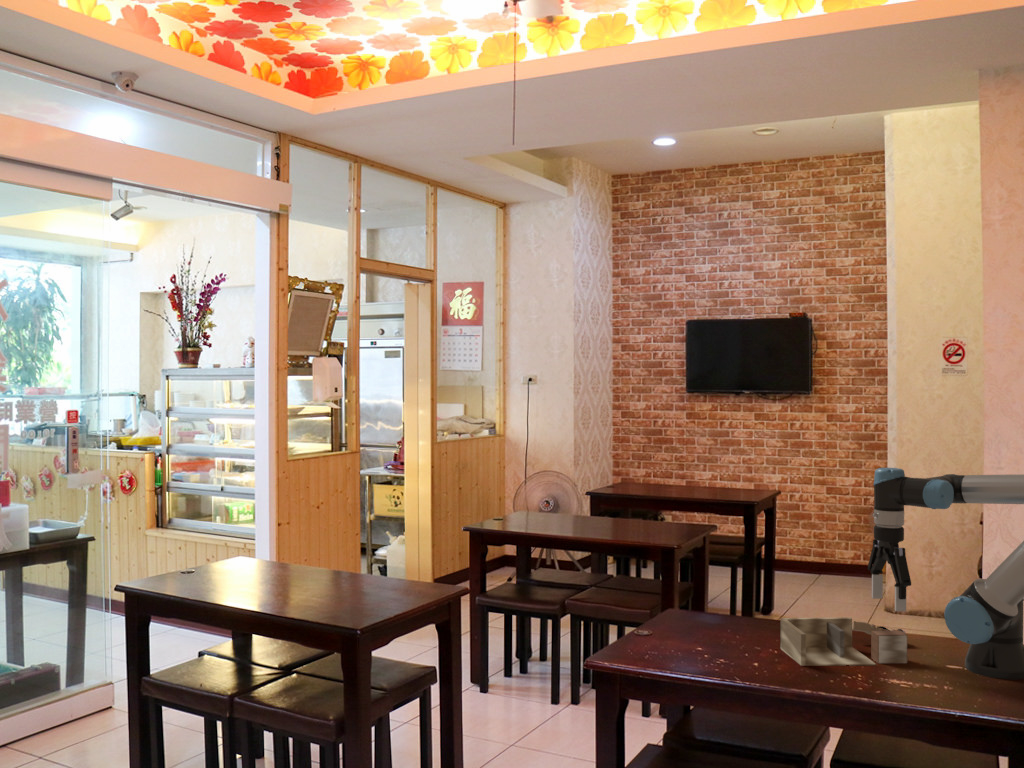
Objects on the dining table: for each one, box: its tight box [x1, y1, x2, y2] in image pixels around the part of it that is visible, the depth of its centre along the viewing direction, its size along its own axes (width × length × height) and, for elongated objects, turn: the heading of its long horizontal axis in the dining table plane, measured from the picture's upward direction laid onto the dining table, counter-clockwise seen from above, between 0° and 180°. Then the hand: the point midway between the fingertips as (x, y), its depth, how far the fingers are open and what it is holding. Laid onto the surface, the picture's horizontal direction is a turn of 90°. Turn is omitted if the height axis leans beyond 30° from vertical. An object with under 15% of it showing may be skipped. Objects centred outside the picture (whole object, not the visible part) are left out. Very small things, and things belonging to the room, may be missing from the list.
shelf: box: [779, 616, 877, 667], centre depth 246 cm, size 20×16×9 cm
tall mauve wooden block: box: [870, 630, 908, 664], centre depth 242 cm, size 8×4×8 cm, turn 92°
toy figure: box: [852, 620, 907, 636], centre depth 260 cm, size 7×6×15 cm
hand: (888, 604), depth 242 cm, fingers open, 13 cm apart
